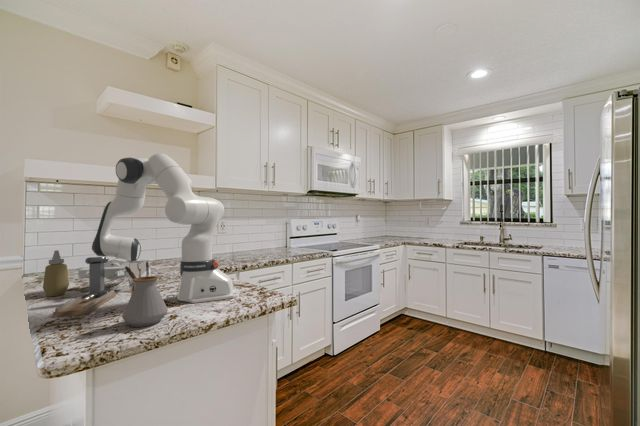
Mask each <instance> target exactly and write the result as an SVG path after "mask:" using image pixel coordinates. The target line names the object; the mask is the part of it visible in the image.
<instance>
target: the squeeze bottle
mask: <svg viewBox="0 0 640 426" xmlns="http://www.w3.org/2000/svg"><path fill="white" fill-rule="evenodd" d="M64 262H65V259H64V258H61V254H60V251H59V250H54V251H53V254H52V259H48V265H46V266H45V270H44V276H43V283H42V290H43V292H44V294H45V296H46V297H57V296H62V295H65V294H66V293H67V291H68V289H69V285H70V280H69V271H68V265H67V264H65V263H64Z"/></svg>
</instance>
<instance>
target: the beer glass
mask: <svg viewBox="0 0 640 426" xmlns="http://www.w3.org/2000/svg"><path fill="white" fill-rule="evenodd" d="M129 269H131V271H132V272H133V273H134V275H135V276H136V278H139V277H147V276H152V271H151V270H152V269H151V261H150V260H146V259H145V260H136V261H132V262H129ZM127 279H128V285H129V288H130V296H131V295H132V293H133V291H134V289H135V287H136V286H135V282H134V281H133V279H132V278H131V277H130V275H129V273H128V277H127Z"/></svg>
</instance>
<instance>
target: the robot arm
mask: <svg viewBox="0 0 640 426" xmlns="http://www.w3.org/2000/svg"><path fill="white" fill-rule="evenodd" d="M115 174H116V176H117V179H118V180H117V185H116V190H115V197H114V199H113V200H111V201H109V202H107V204H106V206H105V207H104V209H103V212H102V215H101V218H100V221H99V225H98V227H97V232H96V235H95V236H94V239H93V242H92V244H91V251H92V252H93V253H94V254H95V255H96V257H113V259H109V261H108V262H107V263H104V278H105V279H107V280H110V281H118V280H119V279H123V278H124V279H125V278H128V272H127V271H126V269H125V267H126V266H127V267H129V262H132V261H138V260H139V258H140V255H141V251H142V247H141V246H142V245H141V243H140V241H139V240H138V239H137V238H135V237H128V236H121V235H120V236H119V235H113V234H111V230H112V226H113V223H114V221H115V218H117V217H119V216H124V215H130V214H134V213H136V212H138V211H140V210H142V208H143V207H144V204H145V201H146V195H147V194H146V193H147V186H148V185H158V187H159V188H160V189H161V190H162V192H163V194H164V195H165V196H166V198H167V201H166V204H165V207H164V213H165V216H166V218H167V220H169V222H172V223H174V224H180V225H187V226H188V225H190V229H189V232H187V234H186V235H185V237H183V238H182V240H181V261H180V262H179V274H180V284H179V289H178V294H177V297H176V300H177V301H181V302H188V303H191V304H196V303H203V302H213V301H220V300H227V299H234V298H236V297H238V296H239V294H240V293H239V292H240V291H239V289H238V288H236V287H234V284H233V280H232V278H231V276H230V275H228V274H226V273H225V272H224V271H222V270H220V269H219V262H218V260H216V259H214V258H213V247H214V245H213V241H214V236H215V233H216V232H215V231H216V229H217V226H218V224H219V222H220V221H221V220H222V219H223V218H224V215H225V207H224V205H223V202H221V201H220V200H218V199H216V198H213V197H209V196H202V195H201V196H199V195H197V194H196V193H194V192H193V186H194V184H193V181H192V179H191V178H190V177H189V176H188V175H187V174H186V172H185V171H184V170H183V169H182V167H181V166H180V165H179V164H178V163H177V162H176V161H175V160H174V159H173V158H172V157H170V156H168V154H166V153H155V154H153V155H151V156H150V157H149V158H147V157H124V158H121V159H119V160H118V161H117V163H116V165H115ZM123 268H124V269H123ZM122 269H123V271H124V272H123V271H122ZM77 275H78V278H79V279H89V266H87V267H84V268H80V269H78V272H77Z"/></svg>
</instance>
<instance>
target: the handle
mask: <svg viewBox="0 0 640 426" xmlns="http://www.w3.org/2000/svg"><path fill="white" fill-rule="evenodd" d="M84 260H85V261H84V262H85V264H88V265H89V266H88V267H89V278H88V279H89V284H88V285H89V289H88V290H89V293H88V292H87V293H88V294H86V293H85V294H86V297H85V298H84V299H83V301H84V302H86V301H88V300H90V299H92V298H94V297H101V296H103V295H105V294H107V292H108V290H105V277H104V264H105V263H107V262H108V261H110V259H109V257H108V256H93V257H91V256H90V257H87V258H85V259H84Z"/></svg>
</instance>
